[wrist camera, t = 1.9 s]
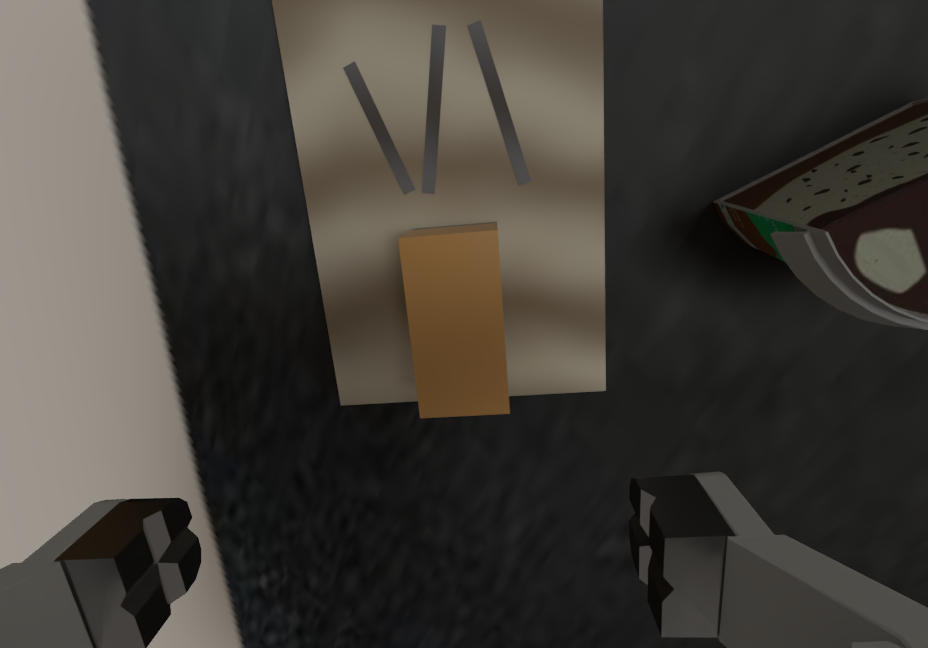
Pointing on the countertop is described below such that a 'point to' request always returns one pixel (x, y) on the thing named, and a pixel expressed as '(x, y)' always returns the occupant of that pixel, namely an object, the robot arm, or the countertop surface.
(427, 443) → the countertop surface
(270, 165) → the countertop surface
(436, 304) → the block
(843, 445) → the countertop surface
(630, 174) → the countertop surface
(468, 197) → the birch board
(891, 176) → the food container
